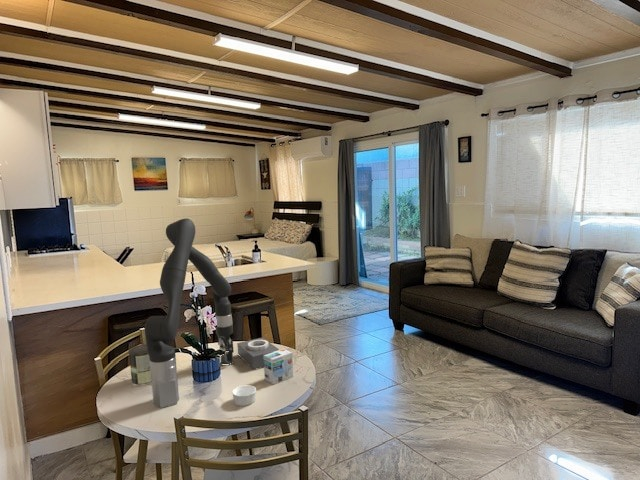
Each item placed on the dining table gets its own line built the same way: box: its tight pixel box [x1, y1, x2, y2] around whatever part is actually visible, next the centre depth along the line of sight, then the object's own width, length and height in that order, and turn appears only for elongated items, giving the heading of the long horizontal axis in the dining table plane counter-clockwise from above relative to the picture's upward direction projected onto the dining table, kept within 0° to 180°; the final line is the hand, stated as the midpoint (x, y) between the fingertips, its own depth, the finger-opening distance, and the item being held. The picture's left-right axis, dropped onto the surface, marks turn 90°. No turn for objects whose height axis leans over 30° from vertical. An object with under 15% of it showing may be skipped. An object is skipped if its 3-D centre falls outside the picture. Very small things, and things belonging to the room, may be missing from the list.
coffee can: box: [128, 344, 152, 387], centre depth 182 cm, size 10×10×14 cm
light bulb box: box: [263, 348, 294, 385], centre depth 180 cm, size 11×7×11 cm, turn 131°
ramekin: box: [231, 384, 257, 407], centre depth 163 cm, size 9×9×4 cm
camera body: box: [236, 337, 280, 370], centre depth 202 cm, size 20×13×8 cm, turn 31°
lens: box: [219, 345, 234, 365], centre depth 198 cm, size 6×6×8 cm
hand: (226, 357), depth 198 cm, fingers open, 8 cm apart
